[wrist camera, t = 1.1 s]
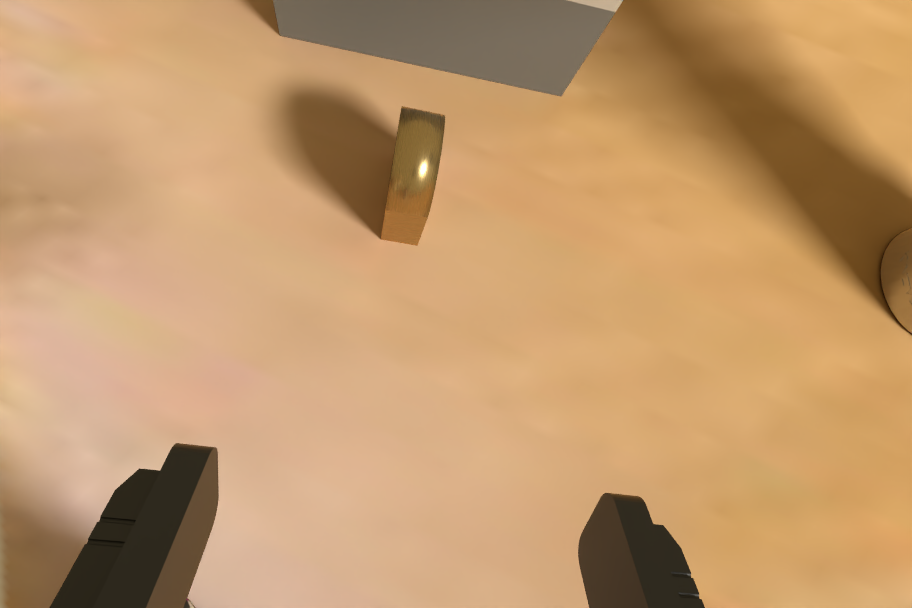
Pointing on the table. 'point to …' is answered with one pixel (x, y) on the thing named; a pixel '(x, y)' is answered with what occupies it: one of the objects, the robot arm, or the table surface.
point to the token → (413, 175)
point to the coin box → (460, 34)
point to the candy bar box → (188, 604)
